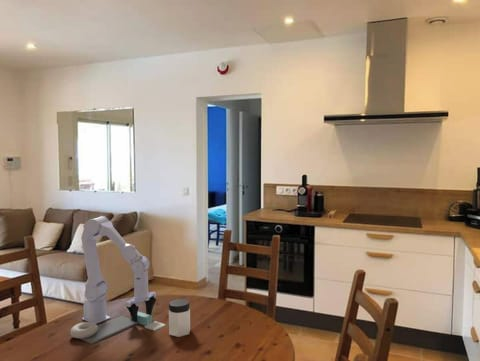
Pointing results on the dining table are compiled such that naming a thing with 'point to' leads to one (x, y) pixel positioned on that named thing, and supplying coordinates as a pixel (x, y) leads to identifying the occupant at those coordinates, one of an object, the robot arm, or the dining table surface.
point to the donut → (84, 330)
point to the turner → (148, 321)
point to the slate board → (110, 329)
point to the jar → (179, 317)
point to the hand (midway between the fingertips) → (141, 318)
